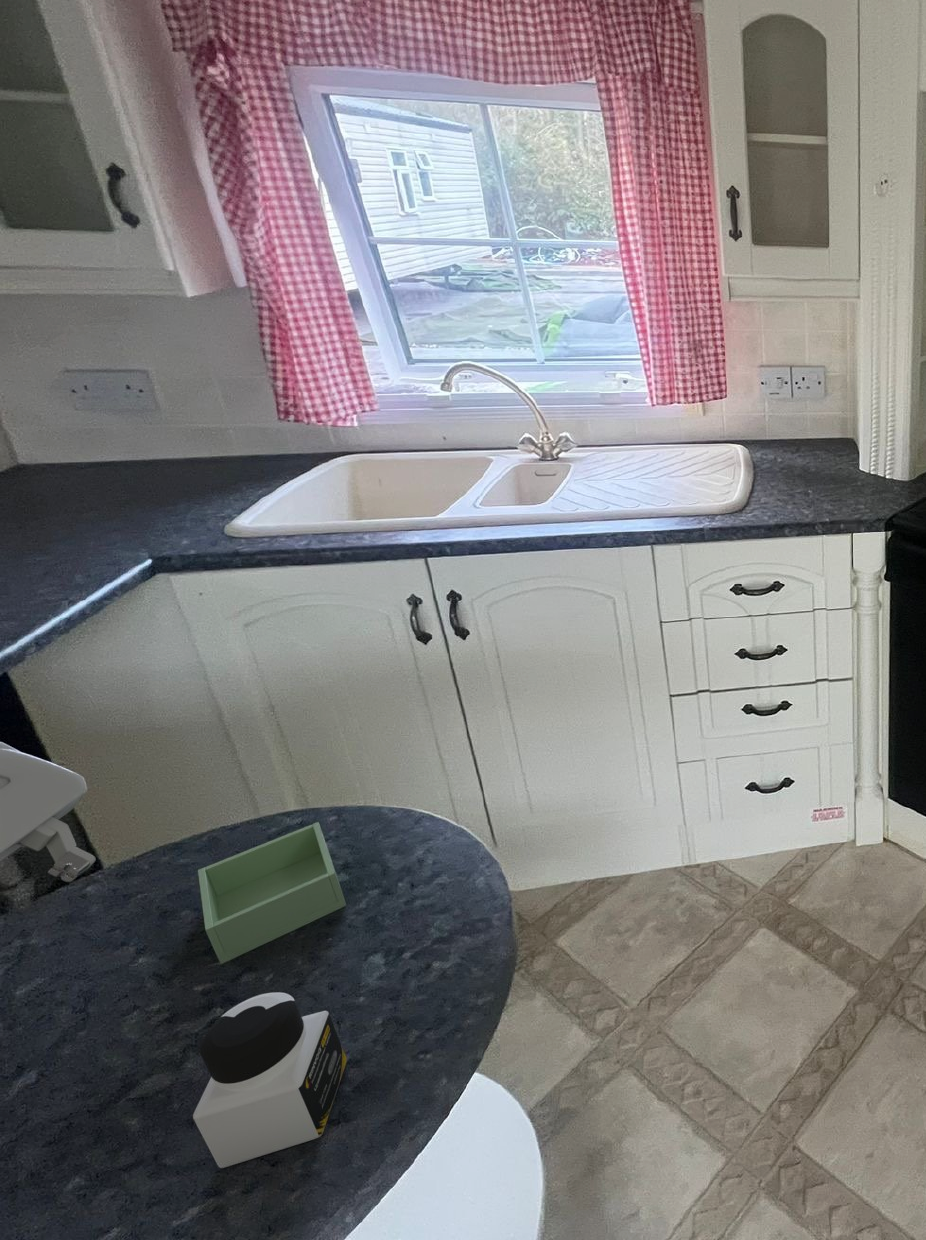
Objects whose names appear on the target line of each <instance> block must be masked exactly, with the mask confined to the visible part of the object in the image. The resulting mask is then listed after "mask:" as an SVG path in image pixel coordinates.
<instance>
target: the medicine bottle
mask: <svg viewBox="0 0 926 1240" xmlns="http://www.w3.org/2000/svg"><path fill="white" fill-rule="evenodd" d="M344 1051H345V1050H344V1048H343V1046H342V1043H341V1041H340V1038H339V1036H338V1032H337V1030H336V1028H335V1025H334V1023H333V1020H332V1017H331V1014H330V1012H329V1011H327V1010H322V1011H319V1012H315V1013H311V1014H307V1015H303V1016H302V1015H301V1012H300V1010H299V1006H298V1005H297V1003H296V1000H295V999H294V997H293V996H292V995H290V994H289V993H286V992H275V991H274V992H267V993H261V994H258V995H255V996H252V997H249V998H247V999H246V1000H244V1001H241V1002H240V1003H237V1004H236V1005H234V1006H233V1007H231V1008H230V1009H228V1010H227V1011H226V1012H225V1013H223V1014H222V1015H221V1016H220V1017H219V1018H218V1019H216V1020H215V1022H214V1023H213V1024H212V1025H211V1026H210V1027H209V1029H208V1030H207V1032H206V1033H205V1035H204V1037H203V1038H202V1040H201V1043H200V1046H199V1055H200V1057H201V1059H202V1061H203V1063H204V1065H205V1067H206V1069H207V1071H208V1073H209V1075H210V1079H209V1081H208V1083H207V1085H206V1087H205V1089H204V1091H203V1093H202V1095H201V1097H200V1099H199V1101H198V1104H197V1105H196V1108H195V1110H194V1112H193V1115H192V1119H193V1121H194V1123H195V1125H196V1127H197V1128H198V1130H199V1132H200V1134H201V1136H202V1138H203V1140H204V1142H205V1144H206V1146H207V1147H208V1150H209V1151H210V1154H211V1156H212V1157H213V1159H214V1161H215V1163H216V1166H217V1167H218V1168H220V1169H225V1168H228V1167H231V1166H235V1165H237V1164H240V1163H244V1162H246V1161H250V1160H253V1159H256V1158H259V1157H263V1156H265V1155H269V1154H272V1153H275V1152H278V1151H281V1150H286V1149H287V1148H291V1147H294V1146H297V1145H301V1144H304V1143H307V1142H310V1141H313V1140H317V1139H319V1138H320V1137H322V1136H323V1133H324V1131H325V1127H326V1125H327V1122H328V1119H329V1116H330V1113H331V1110H332V1107H333V1103H334V1101H335V1099H336V1095H337V1092H338V1088H339V1086H340V1083H341V1080H342V1077H343V1074H344V1071H345V1068H346V1065H347V1061H348V1060H347V1059H348V1058H347V1056H346V1054H345V1052H344Z"/></svg>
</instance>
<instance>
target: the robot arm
mask: <svg viewBox="0 0 926 1240" xmlns="http://www.w3.org/2000/svg"><path fill="white" fill-rule="evenodd" d="M87 792H88V786H87V783H86V779H85V777H84V776H82V775H80V774H79V773H77V772H75V771H72V770H71V769H68V768H66V767H63V766H61V765H58V764H56V763H53V762H51V761H48V760H46V759H42V758H41V757H38V756H34V755H32V754H28V753H26V752H22V751H20V750H18V749H16V748H14V747H12V746H10V745H9V744H7V743H4V742H3V741H0V863H1V862H3V860H5V859H6V858H8V857H9V856H11V855H12V854H13V853H15V852H16V851H17V850H19V849H20V848H21V847H23V846H25V847H27V848H30V849H32V850H34V851H36V852H39V851H41V850H43V849H44V848H45V847H46V848H47V850H48V852H49V854H50V856H51V857H52V860H53V861H54V864H53V865H52V866H51V868H49V870H48V871H47V874H48V875H51V876H53V877H55V878H60V879H61V881H63V882H65V883H71V882H73V881H74V880H76V879H77V878H79V877H80V876H81V875H82V874H83V873H85V872H86V871H87V870H88V869H90V868H91V866H92V865H93V864H94V863H95V862H96V861H97V859H96V856H94V855H93V854H92V853H90V852H87V851H86V850H83V849H81V848H79V847H78V846H77V843H76V841H75V838H74V836H73V834H72V831H71V829H70V826H69V824H67V823H65V822H64V821H62V820H60V819H61V818H63V817H64V816H66V815H67V814H69V813H70V812H71V811H72V810H73V809H74V808H75V807H76V806H77V805H78V804H79V802H80V801H81V800H82V799H83V798H84V796H85V795H86V794H87Z"/></svg>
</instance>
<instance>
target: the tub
mask: <svg viewBox="0 0 926 1240" xmlns="http://www.w3.org/2000/svg"><path fill="white" fill-rule="evenodd" d="M322 830H323V829H322V827H321V825H320V821H316V822H315V823H312V824H310V825H306V826H303V827H302V828H300V829H297V830H294V831H291V832H289V833H287V834H285V835H282V836H279V837H277V838H274V839H272V840H269V841H267V842H263V843H262V844H259V845H257V846H254V847H252V848H250V849H247V850H244V851H242V852H239V853H237V854H235V855H234V854H233V855H232V856H229V857H227V858H224V859H222V860H219V861H217V862H215V863H211V864H209V865H206V866H204V867H202V868H199V869H197V875H198V883H199V891H200V899H201V906H202V915H203V922H204V923H203V924H204V931H205V932H206V935H207V937H208V940H209V941H210V944H211V946H212V948H213V950H214V952H215V955H216V957H217V959H218V961H219V964H220V965H223V964H225V963H227V962H229V961H231V960H233V959H236V958H238V957H240V956H242V955H244V954H246V953H249V952H250V951H253V950H254V949H257V948H259V947H261V946H263V945H266V944H267V943H270V942H272V941H274V940H276V939H278V938H280V937H283V936H285V935H287V934H289V933H291V932H293V931H295V930H298V929H300V928H302V927H304V926H306V925H308V924H310V923H312V922H315V921H317V920H319V919H322V918H323V917H325V916H327V915H329V914H332V913H334V912H336V911H338V910H340V909H342V908H345V907H346V906H347V903H346V900H345V899H346V898H345V897H344V893H343V890H342V887H341V883H340V881H339V878H338V874H337V872H336V869H335V865H334V862H333V859H332V857H331V852H330V850H329V847H328V845H327V841H326V839H325V836H324V833H323V831H322Z"/></svg>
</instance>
